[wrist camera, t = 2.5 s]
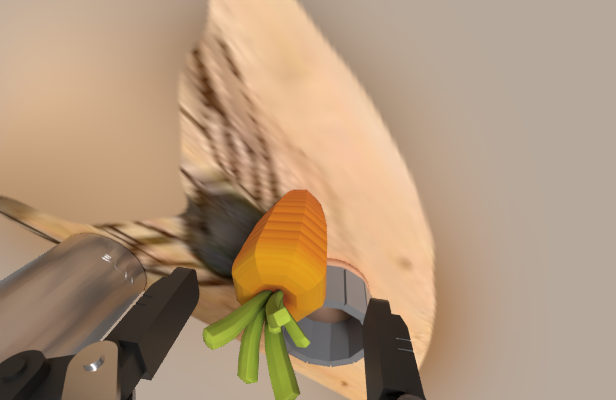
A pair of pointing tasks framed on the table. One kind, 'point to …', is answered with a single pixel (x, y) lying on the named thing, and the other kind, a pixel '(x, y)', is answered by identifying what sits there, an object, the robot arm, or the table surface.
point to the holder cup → (335, 320)
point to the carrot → (276, 288)
